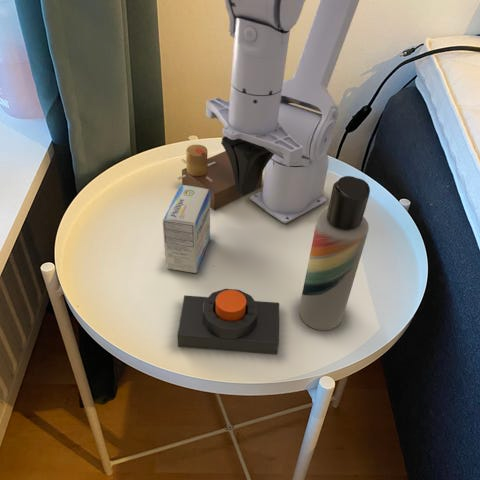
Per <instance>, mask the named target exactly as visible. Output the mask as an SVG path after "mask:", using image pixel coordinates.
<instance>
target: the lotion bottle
mask: <svg viewBox="0 0 480 480" xmlns="http://www.w3.org/2000/svg"><path fill="white" fill-rule="evenodd" d="M370 193H371V187H370V185H369V183H368V182H367V181H366V180H364V179H362V178H359V177H355V176H351V175H345V176H342V177H340V178H339V179H338V180H337V181H335V182H334V183H333V185H332V190H331V194H330V198H329V203H328V208H326V209H324V210H323V211H322V212H320V214H319V215H318V216H317V219H316V223H315V228H314V232H313V237H312V241H311V242H312V243H311V248H310V253H309V257H308V262H307V266H306V267H307V268H306V272H305V278H304V282H303V286H302V287H303V288H302V292H301V297H300V302H299V309H298V313H299V318H300V320H302V322H303V323H304V324H305V325H306V326H308V328H309V327H310V328H311V329H314V330H317V331H329V330H332V329H335V328H336V327H338V326H339V325H340V324H341V322H342V320H343V318H344V315H345V311H346V309H347V305H348V302H349V298H350V295H351V291H352V288H353V285H354V281H355V277H356V274H357V271H358V268H359V265H360V261H361V257H362V254H363V250H364V248H365V244H366V242H367V241H366V240H367V236H368V233H369V222H368V220H367V218H366V217H365V216H364V215H365V212H366V208H367V204H368V200H369V198H370Z"/></svg>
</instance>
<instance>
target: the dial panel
mask: <svg viewBox="0 0 480 480" xmlns="http://www.w3.org/2000/svg"><path fill="white" fill-rule="evenodd" d="M181 161H182V162H183V163H184V164H185V165H187V162H186V160H185V159H184V158H183V159H181ZM263 174H264V171H263V172H262V174H261V176H260V178H259V181H258V183H257V186H256V188H255V191H256V190H259V189H260V188H262V187H263V186H262V185H263V177H264V176H263ZM177 180H181V185H186V186H194V187H199V188H204V189H208V190H210V209H212V210H213V211H215V210H217V209H220V208H221V207H224V206H225V205H228V204H230V203H232V202H234V201H237V200H239V199H240V198H242V197H244V196H245V195H242V194H240V193H239V192H238V191H237V189H236V185H235V179H234V174H233V170H232V166H231V163H230V160H229V157H228V155H227V153H226V150H224V151H222V152H220V153H217V154H215V155H212V156H210V157H207V173H206V174H205V175H202V176H192V175H190V174H188V172H187V167H185V168H183V169H181V175H180V176H178V177H177Z"/></svg>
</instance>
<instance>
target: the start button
mask: <svg viewBox="0 0 480 480" xmlns="http://www.w3.org/2000/svg"><path fill="white" fill-rule="evenodd" d="M215 311H216V314H217V316H218V317H219V318H220V319H222V320H224V321H230V322H234V321H238V320H240V319H241V318H242V317H243V316H244V315H245V311H246V298H245V296H244V295H243V294H242V293H240V292H238V291H235V290H226V291H223V292H221V293H219V294H218V296H217V297H216V309H215Z"/></svg>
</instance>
